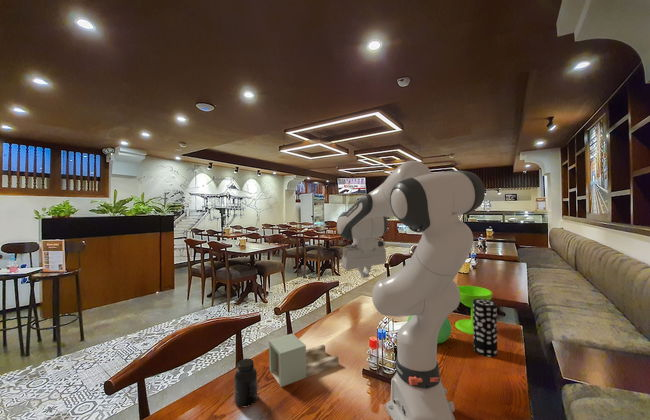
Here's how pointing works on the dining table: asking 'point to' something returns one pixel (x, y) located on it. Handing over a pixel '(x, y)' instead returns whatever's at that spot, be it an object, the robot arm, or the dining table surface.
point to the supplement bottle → (245, 383)
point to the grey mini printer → (316, 361)
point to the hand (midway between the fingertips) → (364, 277)
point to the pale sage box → (288, 358)
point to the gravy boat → (442, 331)
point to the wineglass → (470, 304)
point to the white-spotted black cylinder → (485, 327)
